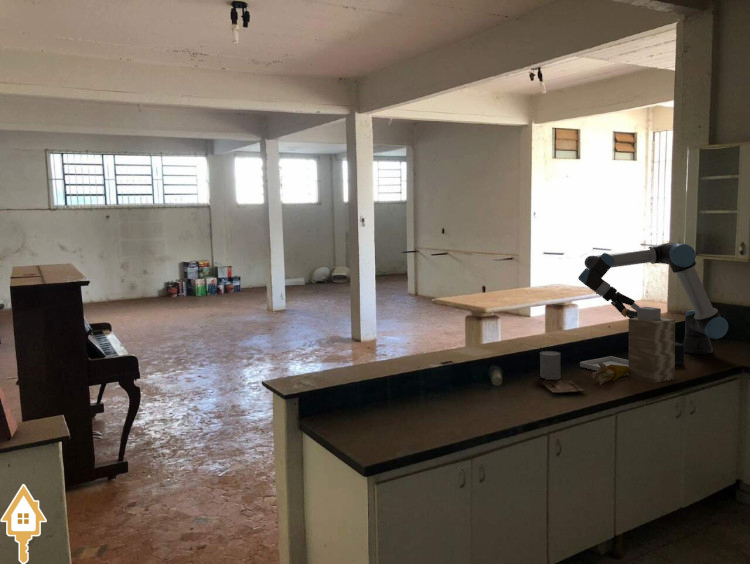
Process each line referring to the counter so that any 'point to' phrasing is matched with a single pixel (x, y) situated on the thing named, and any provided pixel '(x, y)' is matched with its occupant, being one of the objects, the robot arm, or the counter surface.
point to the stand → (652, 349)
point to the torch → (609, 372)
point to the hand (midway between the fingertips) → (641, 317)
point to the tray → (606, 360)
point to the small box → (679, 354)
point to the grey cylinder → (550, 365)
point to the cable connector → (644, 313)
